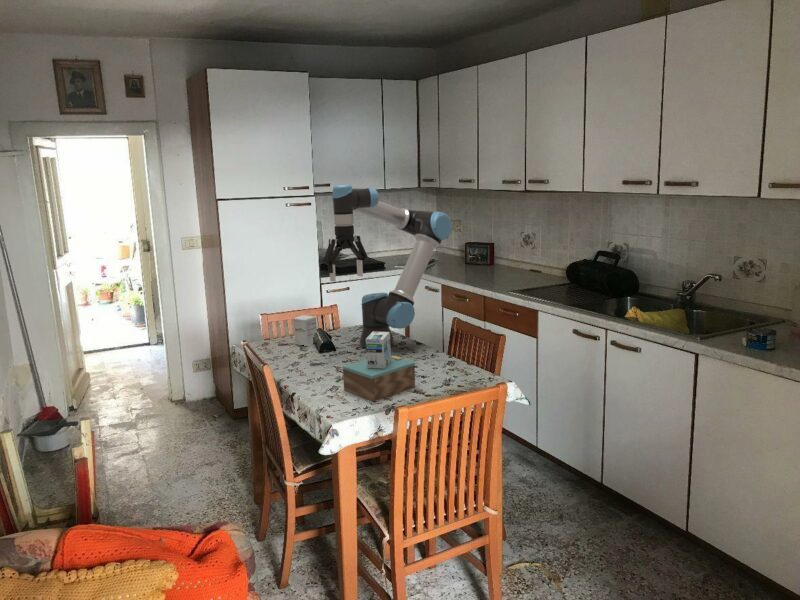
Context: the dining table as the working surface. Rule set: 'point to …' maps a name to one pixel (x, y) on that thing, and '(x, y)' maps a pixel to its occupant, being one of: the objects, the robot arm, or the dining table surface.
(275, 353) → the dining table surface
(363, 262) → the robot arm
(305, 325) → the supplement box
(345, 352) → the dining table surface
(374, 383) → the walnut chest
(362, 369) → the chest lid
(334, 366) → the dining table surface
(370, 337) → the light bulb box
